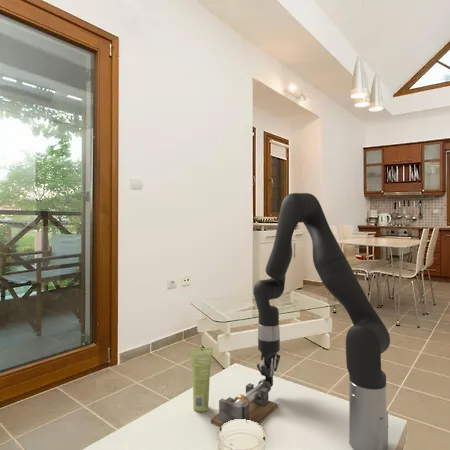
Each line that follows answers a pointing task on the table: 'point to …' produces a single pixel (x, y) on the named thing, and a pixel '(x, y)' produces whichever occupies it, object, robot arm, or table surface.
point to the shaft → (253, 393)
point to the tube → (201, 377)
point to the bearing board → (253, 413)
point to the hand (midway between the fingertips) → (269, 386)
